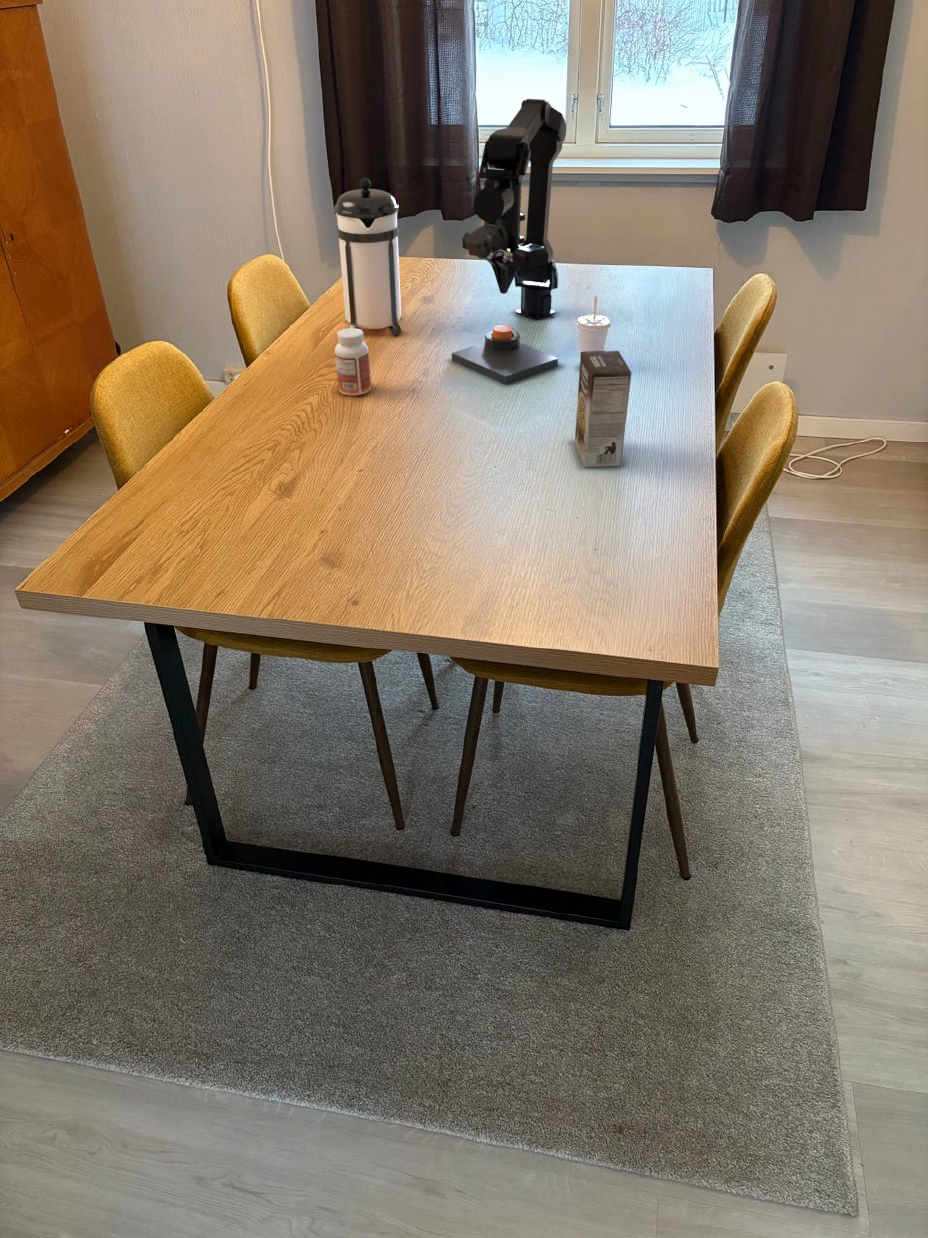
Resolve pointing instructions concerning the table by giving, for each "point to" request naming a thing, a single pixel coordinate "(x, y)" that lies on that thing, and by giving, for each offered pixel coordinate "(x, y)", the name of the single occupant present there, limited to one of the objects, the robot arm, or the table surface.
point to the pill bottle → (352, 363)
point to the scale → (504, 359)
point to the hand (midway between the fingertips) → (503, 292)
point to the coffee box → (602, 408)
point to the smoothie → (593, 331)
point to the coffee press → (369, 258)
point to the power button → (502, 332)
